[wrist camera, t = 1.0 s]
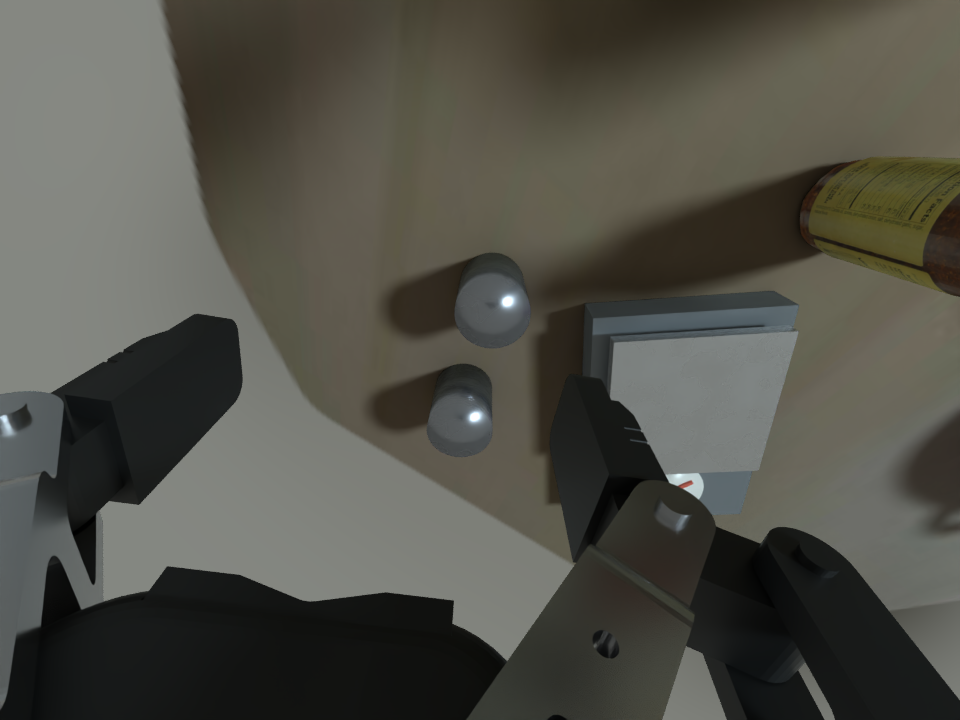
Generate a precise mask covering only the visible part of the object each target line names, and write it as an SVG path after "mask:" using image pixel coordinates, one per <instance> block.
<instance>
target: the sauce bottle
mask: <svg viewBox="0 0 960 720" xmlns="http://www.w3.org/2000/svg"><path fill="white" fill-rule="evenodd" d="M800 230H801V235H802V236H803V238H804V239H805V241H806V242H807V243H809V244H810V245H811V246H813V247H815V248H817V249H819V250H821V251H823V252H824V253H825V254H827V255H829V256H831V257H834V258H837V259H841V260H844V261H847V262H850V263H853V264H857V265H860V266H863V267H866V268H869V269H872V270H876V271H879V272H882V273H885V274H888V275H891V276H894V277H897V278H900V279H903V280H907V281H910V282H913V283H916V284H919V285H922V286H925V287H928V288H931V289H934V290H937V291H940V292H943V293H947V294H950V295H954V296H958V297H960V158H930V157H881V156H878V157H870V158H867V159H864V160H857V161H852V162H848V163H844V164H842V165H839V166H837V167H835V168H834V169H832V170H831V171H830V172H828V173H827V174H826V175H825V176H823V177H822V178H821V179H820V180H819V181H818V182H817V183H816V184H815V185H814V186H813V187H812V188H811V190H810V191H809V193H808V194H807V195H806V197H805V198H804V200H803V203H802V207H801V211H800Z"/></svg>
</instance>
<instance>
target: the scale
mask: <svg viewBox="0 0 960 720" xmlns="http://www.w3.org/2000/svg"><path fill="white" fill-rule="evenodd" d="M798 308H799V305H798V304H796V303H795V302H793V301H791V300H789V299H787V298H786V297H784V296H782V295H780V294H778V293H777V292H775V291H764V292H750V293H735V294H720V295H705V296H690V297H675V298H660V299H645V300H630V301H615V302H600V303H586V304H585V314H584V342H583V369H582V376H588V377H594V378H600V379H601V380H602V381H603V383H604V385H605V388H606V390H607V378H608V363H609V348H610V336H625V335H641V334H657V333H673V332H689V331H705V330H720V329H736V328H752V327H768V326H784V325H790V326H792V327H793V325H794V322H795V318H796V315H797V311H798ZM751 474H752V471H734V472H712V473H690V474H668V475H666V477H667V479H668V481H669V483H671V484H674V485H676V486H678V487H680V488H682V489H684V490H686V491H688V492H689V493H691V494H692V495H694V496H695V497H696V498H697V499H699V500H700V501H701V502H702V503H703V504H704V505H705V506H706V507H707V509H708V510H709V511H710V513H711V515H719V514H740V513H741V510H742V506H743V503H744V499H745V495H746V492H747V488H748V485H749V481H750V478H751Z"/></svg>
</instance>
